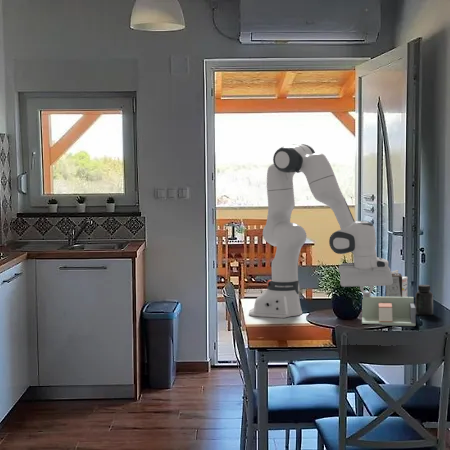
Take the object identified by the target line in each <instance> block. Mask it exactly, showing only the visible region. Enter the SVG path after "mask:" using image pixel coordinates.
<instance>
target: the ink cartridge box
mask: <svg viewBox="0 0 450 450" xmlns="http://www.w3.org/2000/svg"><path fill="white" fill-rule="evenodd" d="M394 273H399V269H396V270H392V271H391V274H394ZM408 279H409V278H408V276H402V297H408Z"/></svg>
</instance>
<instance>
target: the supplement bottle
mask: <svg viewBox="0 0 450 450" xmlns="http://www.w3.org/2000/svg"><path fill="white" fill-rule="evenodd" d="M417 290H418V291H416V293H415V315H417V316H421V317H429V316H432V315H434V294H433V292H432V291H431V285H430V284H418V287H417Z"/></svg>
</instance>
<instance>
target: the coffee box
mask: <svg viewBox="0 0 450 450" xmlns="http://www.w3.org/2000/svg"><path fill="white" fill-rule="evenodd" d="M402 277H403V275H402V273H399V272H398V273H394V274H392V281H393V283H392V285H390V286H385V297H402Z"/></svg>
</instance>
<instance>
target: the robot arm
mask: <svg viewBox="0 0 450 450" xmlns="http://www.w3.org/2000/svg"><path fill="white" fill-rule="evenodd" d="M272 161H273V163H272V164H270V165H269V166H268V167H267V173H266V194H267V218H266V223H265V225H264V227H263V230H262V237H263V239H264V241H265V242H266V243H267V244H269V245H271V246H273V247H276V250H275V254H274V255H275V256H274V258H273V259H272V261H271V279H267V282H266V288H267V289H266V290H264V291H263V292H262V293H261V294H260V295H258V296H257V297H256V299H255V301H254V306H253V308H251V309H250V310H249V311H248V315H249V316H251V317H264V318H280V319H281V318H282V319H286V318H289V317H295V316H300V315H302V314H303V311H302V306H301V301H300V295H299V294H300V280H299V258H300V253H301V249H302V247H303V245H305V243H306V241H307V231H306V230H305V228H304V227H303V226H301V225H299V224H297V223H296V222H291V218H292V217H291V216H292V212H293V210H294V208H295V204H296V203H295V192H294V182H293V180H294V179H293V178H294V175H295V174H296V173H302V174H303V175H304V176H305V178H306V181H307V184H308V187H309V190H310V192H311V195H313V198H314V199H315V200H316V201H318V202H319V203H322V204H324V205H326V206H328V207H329V208H330V209H331V210H332V212H333V213H334V216H335V218H336V221H337V223H338V226H339V227H340V229H338V230H336V231H335V232H333V233H332V234H330V237H329V239H328V240H329V241H328V243H329V248H330V249H331V250H332V252H334V253H335V254H338V255H344V254H349V253H352V254H353V262H342V263H341V264H339V266H338V272H339V274H340V279H339V281H340V283H339V285H340V286H341V287H342V288H344V287H345V288H346V287H359V290H360V291H361V293H362V296H363V297H371V293H372V291H373V290H374V287H382V286H385V287H386V286H390V285H392V283H393V281H392V274H391V272H392V271H391V270H392V269H391V268H390V266H389V265H390V264H389V260H387V259H385V258H383V257H378V256H377V251H376V245H377V235H376V230H375V226H374V225H373V222H372V223H371V222H370V221H366V220H356V221H355V219H354V217H353V214H352V212H351V209H350V208H349V205H348V203H347V201H346V199H345V197H344V195H343V192H342V191H341V189H340V186H339V183H338V180H337V178H336V175H335V173H334V170H333V168H332V165H331V164H330V161H329V159H328V158H327V157H326V155H325V154H323V153H321V152H316V151H315V150H314V149H313V147H312V146H310V145H308V144H303V143H301V144H300V143H299V144H298V143H297V144H291V145H284V146H281V147H279V148H278V149H276V150H275V152H274V154H273V157H272ZM364 287H368V288H369V290H368V291H364V289H365V288H364Z"/></svg>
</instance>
